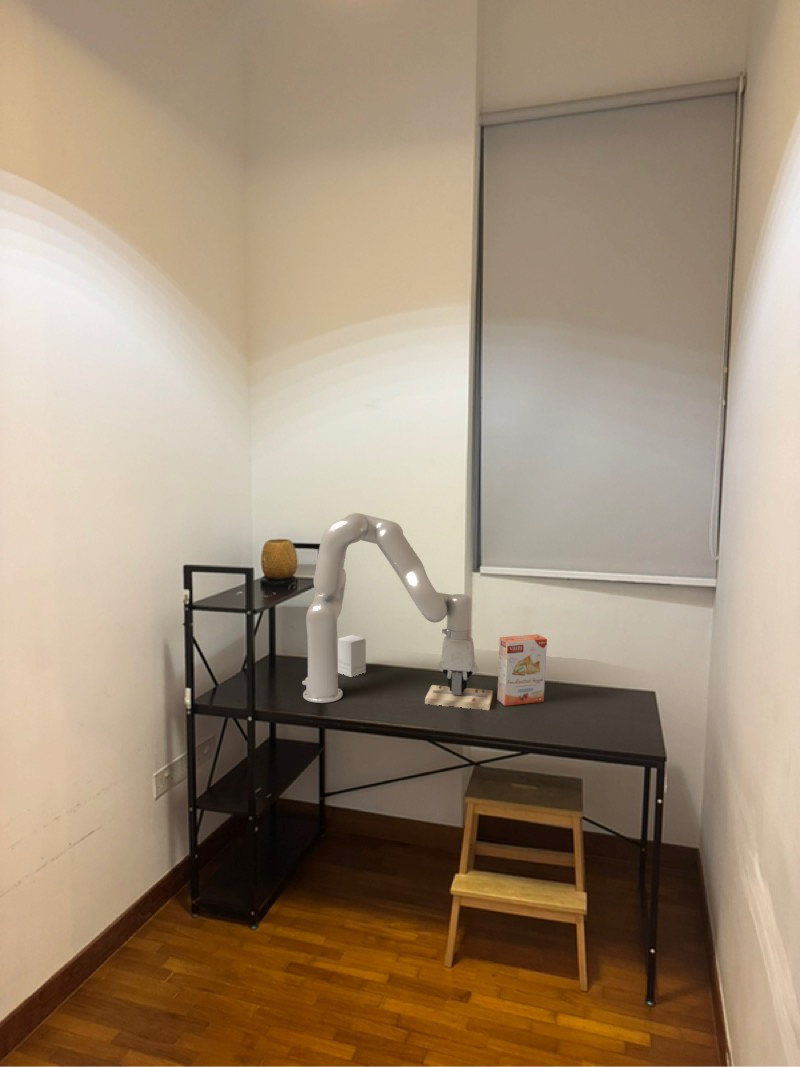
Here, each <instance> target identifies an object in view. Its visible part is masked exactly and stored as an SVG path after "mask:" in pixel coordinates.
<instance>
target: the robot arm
mask: <svg viewBox="0 0 800 1067" xmlns="http://www.w3.org/2000/svg"><path fill="white" fill-rule="evenodd" d="M360 541H363V542H366V543H370V544H371V543H372V544H375V545H376V544H377V546H378V549H379V550H380V551H381V553H382V554H383V555H384V557H385V559H386V560H387V561H388V563H389V564H390V566H391V568H392V569H393V570H394V572H395V573H396V575H397V576H398V578H399V580H400V581H401V583H402V585H403V586H404V588H405V589H406V591H407V593H408V595H409V596H410V598H411V599H412V601H413V603H414V604H415V606H416V608H418V610H419V611H420V613H421V614H422V615H423V617H424V618H425V619H426V620H427V621H428V622H431V623H440V622H442V621H443V620H444V619H445V618H446V627H445V628H442V630H441V632H442V633H441V634H444V635H445V637H444V638H443V641H442V642H443V643H442V649H441V660H440V662H439V663H438V665H437V667H436V669H437V670H438V671H440V672H442V673H443V674H444V675H445V676H446V678H447V686H448V687H450V691H452V672H453V671H463V678H462V689H461V692H464V690H465V689H466V688H468V687H467V686H468V679H469V678H470V677H471V676H472V675H475V674H477V673H479V667H478V665H477V663H476V661H475V645H474V639H473V637H472V636H471V634H472V633H471V632H472V603H473V602H472V601H473V600H472V598H471V597H470V596H469V595H467V594H464V593H455V594H449V593H445V592H444V593H443V592H437V591H436V589H435V587H434V586H433V584H432V582H431V581H430V579H429V576H428V574H427V572H426V569H425V565H424V564H423V562H422V560H421V559H420V557H419V556H418V554H417V553H416V551H415V550H414V548H413V547H412V546H411V544H410V542H409V541H408V539H407V538H406V537H405V535H404V530H403V528H402V527H401V525H400V524H399V523H397V522H395V521H392V520H390V519H389V520H387V519H383V518H379V517H376V516H371V515H368V514H363V513H360V512H354V513H353V512H352V513H350V514H348V515H347V516H345V517H344V518H341V519H339V520H336V521H334V522H333V523H331V524H330V525H329V526H328V527H327V528H326V529H325V530H324V531H323V534H322V536H321V539H320V544H319V547H318V555H317V558H316V564H315V570H314V577H313V588H314V597H313V598H314V599H313V602H312V603H311V604H310V606H309V607H308V609H307V612H306V615H305V625H306V637H307V676H306V677H305V679H303V680H302V683H301V685H304V686H305V687H306V688H305V690H304V691H303V693H302V697H303V699H304V700H306V701H307V702H311V703H315V704H316V703H318V704H327V703H333V702H336V701H338V700H340V699H341V698H343V695H344V694H343V690H342V689H341V688H339V682H338V680H339V677H338V676H339V673H338V639H339V638H338V636H339V635H338V619H339V617H340V615H341V613H342V607H343V602H344V596H345V590H346V581H347V573H346V570H345V568H344V566H345V562H346V561H345V560H346V556H347V549H348V548H349V546H350V545H352V544H355V543H358V542H360Z"/></svg>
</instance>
